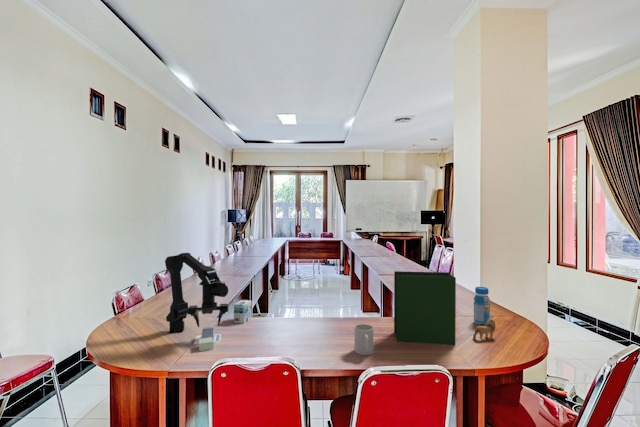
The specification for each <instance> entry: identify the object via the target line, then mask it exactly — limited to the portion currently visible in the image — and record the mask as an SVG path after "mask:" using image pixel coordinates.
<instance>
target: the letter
mask: <svg viewBox="0 0 640 427" xmlns="http://www.w3.org/2000/svg"><path fill="white" fill-rule="evenodd" d="M199 339H202V334H200V335H196V336H195V339H194V342H193V345H197V344H198V345H199ZM221 340H222V333H214V338H213V343H219V342H221Z"/></svg>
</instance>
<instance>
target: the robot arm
mask: <svg viewBox="0 0 640 427" xmlns="http://www.w3.org/2000/svg"><path fill="white" fill-rule="evenodd" d="M164 263H165V268H166V270H167V272H168V273H169V274H170V276H169V277H170V285H171V296H172V303H171V305H170V308H169V313H168V314H167V315H166V317H165V318H166V322H168V323H169V332H168V334H169V335H170V334H171V335H172V334H179V333H183V331H185V320H184V319H187V316H188V315H190V316H191V317H193V318H194V320H195V323H196V325H197V327H198V328H200V316H199V312H201V314H202V315H207V314H209V315H211V314H213V312H214V311H219V313H218V320H217V326H220V322H221V320H222V317H223V316H224V315H225V314H226V313H228V312H229V304H228V303H220V304H219V305H218V302H216V300H215V297H219V298H225V297H227V295H228V293H229V287H228V285H226V282H223V281H222V280H221V278H220V276H219V274H218V272H217V270H216V269H215V268H213V267H212V266H209V265H205V264H203V263H202V262H201V261H199V259H197V258H196V257H194V256H193V255H192V254H191V253H190V252H181V253H179V254H176V255H171V256H170V255H169V256H167V257H166V258H165V260H164ZM184 263H185V265H187V266H188V267H189V268H190V269H191V270H193V271H195V273H197V276H198V279H200V281H201V282H200V283H199V284H198V285H199V286H202V287H201V288H202V289H201V290H202V295H201V296H202V301H201V302H202V303H201V306H200V307H199V306H198V305H196V304H195V305H189V303H188V301H185V300H184V296H183V295H184V294H183V284H182V276H181V275H182V274H181V272H182V269H183V266H184Z"/></svg>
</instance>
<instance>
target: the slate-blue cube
mask: <svg viewBox="0 0 640 427" xmlns="http://www.w3.org/2000/svg"><path fill="white" fill-rule="evenodd" d="M214 328H215V327H214V326H213V325H212V326H203V327H202V330H201V333H202V334H201V335H202V338H209V337H212V338H214V334H215V329H214Z"/></svg>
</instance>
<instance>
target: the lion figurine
mask: <svg viewBox="0 0 640 427" xmlns="http://www.w3.org/2000/svg"><path fill="white" fill-rule="evenodd" d="M495 331H496V322H495V321H494V319H493V318H490V319H489V320H487V324H486V325H477V326H476V327H475V330H474V334H473V337H472V339H473V340H474V341H477V340H476V339H477V337H476V336H477V335H478V334H479V339H480V340H481V342H485V339H483V335H484V334H485V338H486V337H488V338H489V335H490V338H491V339H490V338H489V339H490V340H494V337H493V334H494V332H495Z"/></svg>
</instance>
